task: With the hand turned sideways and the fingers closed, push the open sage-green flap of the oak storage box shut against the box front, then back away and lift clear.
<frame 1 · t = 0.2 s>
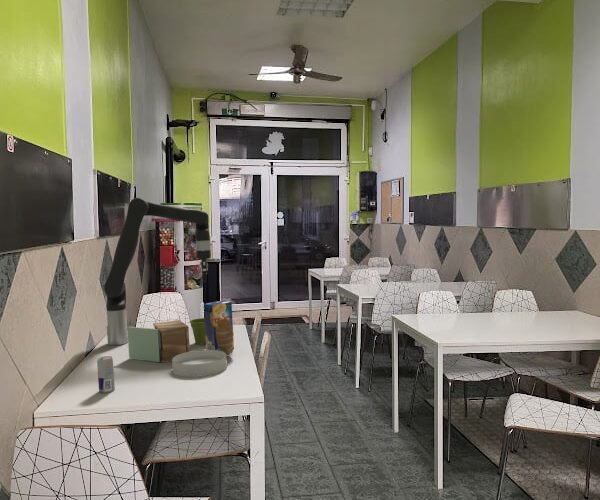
hand: (204, 280, 265), 29 cm above the table, tool pointing down, fingers open, 8 cm apart
box flap: (144, 344, 223), point 7 cm above the table, hinge at 35.0°
oak storage box: (172, 355, 230), on the table
energy drink: (107, 391, 184), on the table
beverage box: (220, 350, 236), on the table
dish: (200, 369, 208), on the table
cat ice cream: (225, 356, 225), on the table
plant pot: (202, 342, 252), on the table
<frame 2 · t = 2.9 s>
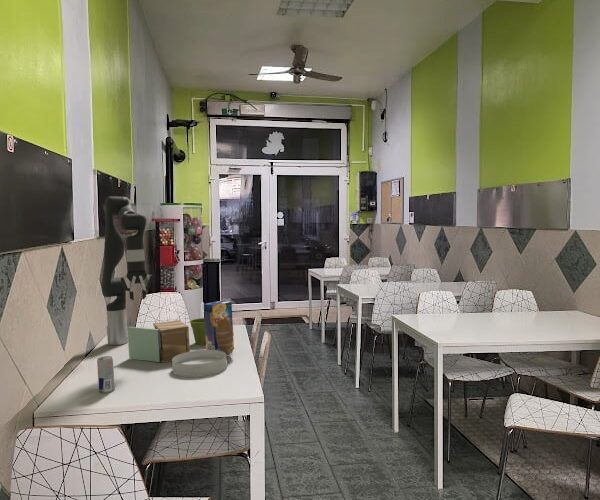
hand: (138, 299, 220), 27 cm above the table, tool pointing down, fingers open, 4 cm apart
nothing on the table moved.
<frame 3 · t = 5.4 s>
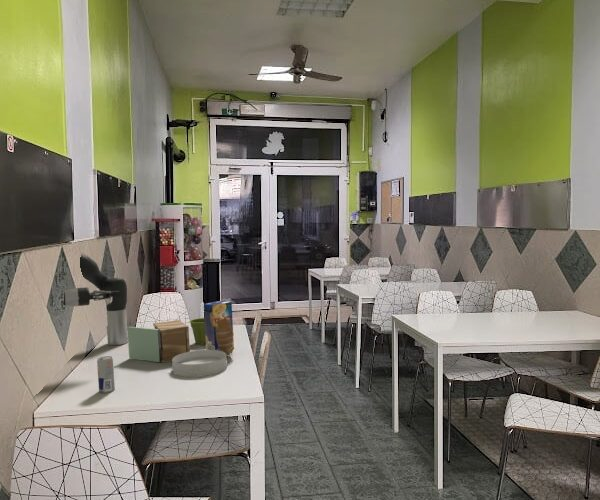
hand: (120, 293, 221), 30 cm above the table, tool horizontal, fingers closed
nothing on the table moved.
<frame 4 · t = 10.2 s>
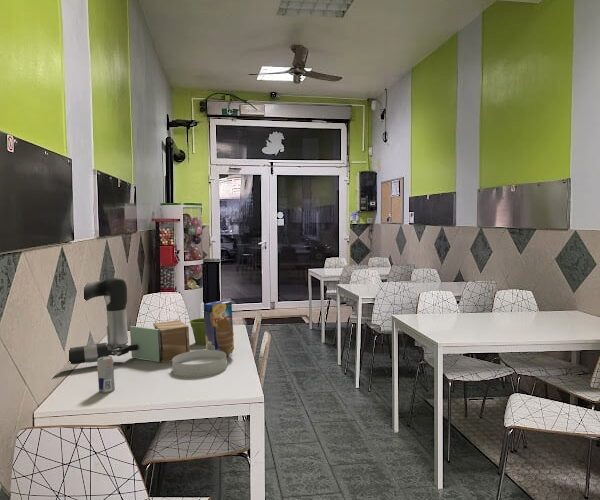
hand: (137, 347, 225), 6 cm above the table, tool horizontal, fingers closed
box flap: (145, 343, 223), point 7 cm above the table, hinge at 30.7°, touching gripper
everything else where it was.
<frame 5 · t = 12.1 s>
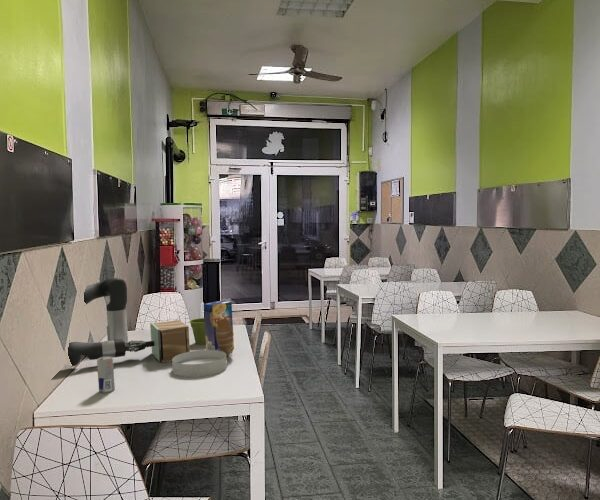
hand: (154, 343, 228), 6 cm above the table, tool horizontal, fingers closed
box flap: (155, 341, 226), point 7 cm above the table, hinge at 0.3°, touching gripper
everything else where it was.
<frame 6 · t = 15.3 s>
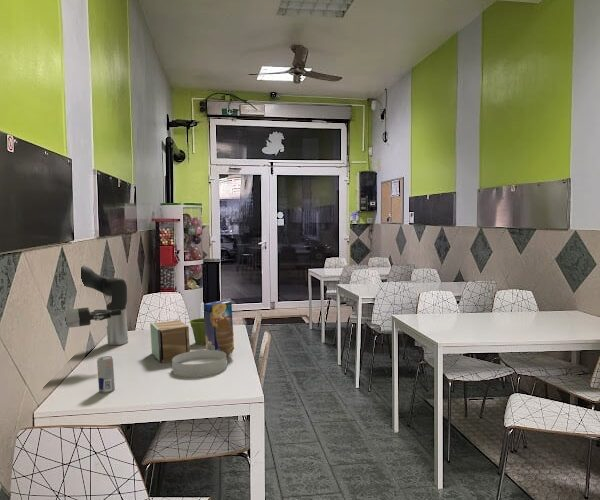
hand: (120, 312, 221), 22 cm above the table, tool horizontal, fingers closed
box flap: (155, 341, 226), point 7 cm above the table, hinge at 0.3°
everything else where it was.
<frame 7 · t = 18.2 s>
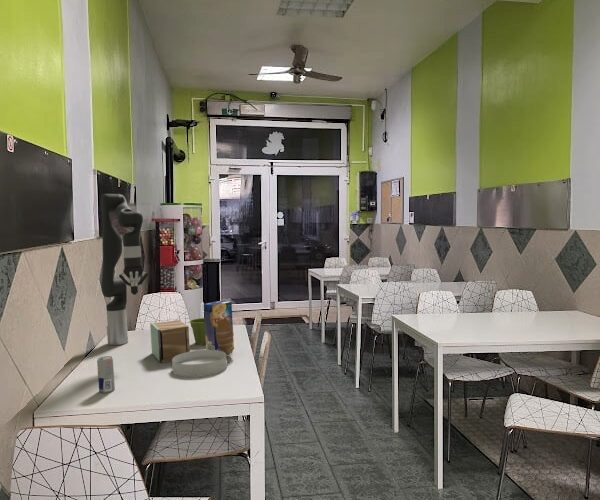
hand: (134, 294, 229), 28 cm above the table, tool pointing down, fingers closed
nothing on the table moved.
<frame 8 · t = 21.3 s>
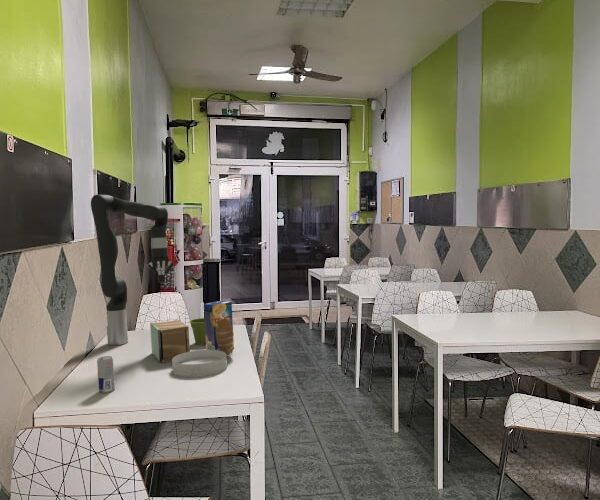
hand: (161, 282, 247), 31 cm above the table, tool pointing down, fingers closed
nothing on the table moved.
at the end: box flap at +0° (first picture: +35°); beverage box moved 0.2 cm from its start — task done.
